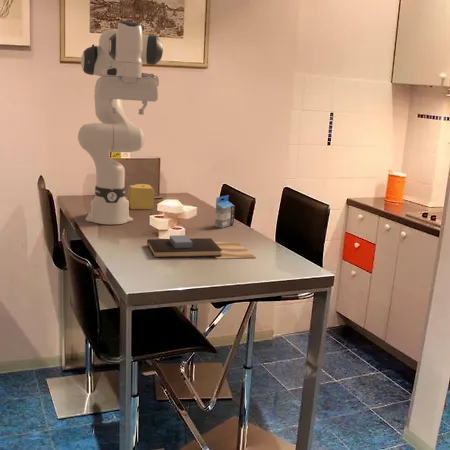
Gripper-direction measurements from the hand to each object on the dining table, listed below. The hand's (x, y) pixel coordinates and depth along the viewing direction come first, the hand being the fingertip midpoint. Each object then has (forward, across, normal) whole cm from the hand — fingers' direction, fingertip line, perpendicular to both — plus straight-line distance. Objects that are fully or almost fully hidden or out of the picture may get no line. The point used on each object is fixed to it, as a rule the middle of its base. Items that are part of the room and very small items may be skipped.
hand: (127, 113), depth 206 cm
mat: (+45, -35, +12) cm, 59 cm away
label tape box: (+45, -45, -24) cm, 68 cm away
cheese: (+45, -16, -59) cm, 76 cm away
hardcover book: (+45, -19, +13) cm, 51 cm away
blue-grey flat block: (+43, -18, +13) cm, 48 cm away
